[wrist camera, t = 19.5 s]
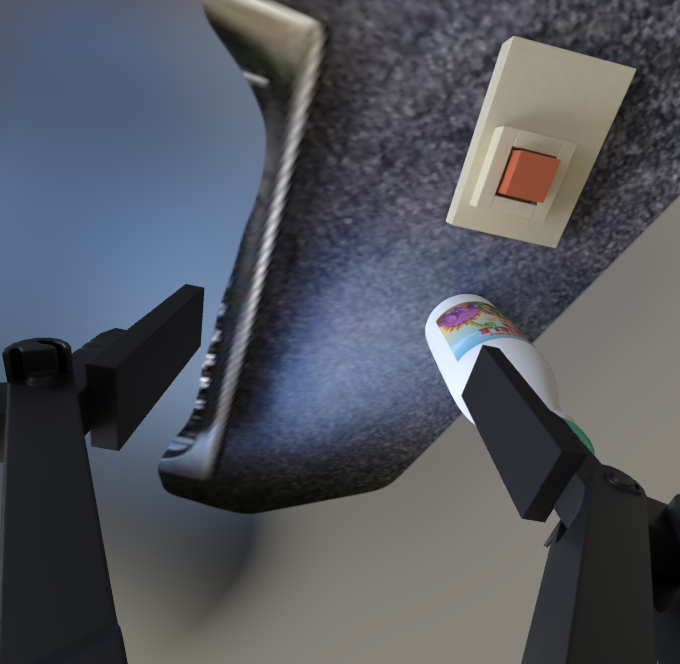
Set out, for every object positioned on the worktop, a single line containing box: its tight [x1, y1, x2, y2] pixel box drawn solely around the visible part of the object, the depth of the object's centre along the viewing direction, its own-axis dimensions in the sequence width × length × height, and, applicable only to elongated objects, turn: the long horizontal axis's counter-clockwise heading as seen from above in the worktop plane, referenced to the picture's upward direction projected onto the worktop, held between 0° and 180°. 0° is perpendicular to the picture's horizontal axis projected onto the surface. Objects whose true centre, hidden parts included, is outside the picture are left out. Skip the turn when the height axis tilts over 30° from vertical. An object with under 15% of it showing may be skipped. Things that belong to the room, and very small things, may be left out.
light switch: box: [446, 36, 637, 248], centre depth 31 cm, size 14×10×4 cm
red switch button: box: [498, 150, 561, 203], centre depth 30 cm, size 3×3×2 cm
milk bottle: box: [425, 294, 594, 454], centre depth 31 cm, size 8×8×20 cm
